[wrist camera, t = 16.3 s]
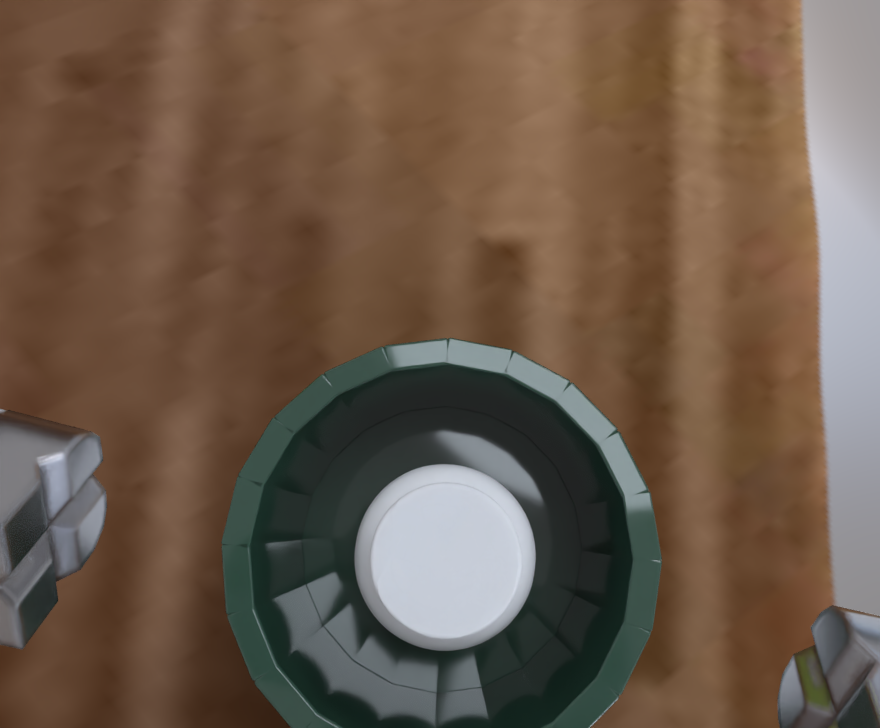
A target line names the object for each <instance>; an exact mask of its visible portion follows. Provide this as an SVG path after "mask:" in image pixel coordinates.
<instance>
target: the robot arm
mask: <svg viewBox="0 0 880 728" xmlns="http://www.w3.org/2000/svg"><path fill="white" fill-rule="evenodd" d="M102 461H103V456H102V449H101V442H100V437H99V436H97V435H96V434H94V433H93V432H91V431H87V430H84V429H80V428H76V427H72V426H68V425H64V424H61V423H57V422H53V421H49V420H45V419H41V418H38V417H34V416H30V415H26V414H22V413H18V412H15V411H11V410H7V411H6V410H3V409H0V645H5V646H9V647H14V648H18V649H23V648H24V647H25V645H26V644H27V643H28V641H29V640H30V638H31V637H32V636H33V634H34V633H35V632H36V630H37V629H38V627H39V626H40V625H41V623H42V622H43V621H44V619H45V618H46V617H47V615H48V614H49V612H50V611H51V610H52V608H53V607H54V606H55V604H56V603H57V601H58V596H57V588H56V582H57V581H59V580H61V579H63V578H65V577H67V576H69V575H71V574H73V573H75V572H77V571H79V570H81V568H82V567H83V565H84V564H85V562H86V561H87V559H88V558H89V557H90V555H91V554H92V552H93V551H94V549H95V546H96V544H97V541H98V539H99V536H100V534H101V532H102V529H103V527H104V522H105V515H106V508H107V503H106V490H105V489H104V487H103V486H102V485H101V484H100V482H99V481H98V480H97V478H96V477H95V476H94V475H93V472H94V471H95V470H96V468H97V467H98V466H99V465H100V463H101V462H102ZM811 630H812V634H813V638H814V641H815V645H813V646H811V647H809V648H807V649H804V650H802V651H800V652H798V653H795V654H794V655H793V657H792V658H791V660H790V662H789V664H788V666H787V667H786V669H785V671H784V673H783V675H782V680H781V684H780V689H779V694H778V720H779V725H780V728H880V616H877V615H873V614H868V613H864V612H860V611H855V610H851V609H847V608H842V607H838V606H833V605H832V606H830V607H829V608H827V609H825V610H824V611H822V612H821V613H820V614H819V616H818V618H817V619H816V621H815V622H814V624H813V625H812V627H811Z"/></svg>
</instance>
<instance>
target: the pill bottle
mask: <svg viewBox="0 0 880 728" xmlns="http://www.w3.org/2000/svg"><path fill="white" fill-rule="evenodd" d="M535 562H536V550H535V541H534V536H533V532H532V529H531V526H530V523H529V520H528V518H527V516H526V514H525V512H524V511H523V509H522V507H521V506H520V504H519V503H518V501H517V500H516V499H515V497H514V496H513V495H512V494H511V493H510V492H509V491H508V490H507V489H506V488H505V487H504V486H503V485H501V484H500V483H499V482H497V481H496V480H495V479H493V478H491V477H490V476H488V475H486V474H484V473H482V472H480V471H477V470H475V469H472V468H468V467H465V466H460V465H452V464H436V465H429V466H424V467H420V468H417V469H414V470H411V471H409V472H407V473H405V474H403V475H401V476H399V477H398V478H396V479H395V480H393V481H392V482H391V483H389V484H388V485H387V486H386V487H385V488H384V489H383V490H382V491H381V492H380V493H379V494H378V495H377V496H376V497H375V499H374V500H373V501H372V503H371V504H370V506H369V507H368V509H367V511H366V512H365V515H364V517H363V519H362V521H361V524H360V527H359V530H358V534H357V539H356V545H355V572H356V578H357V582H358V586H359V589H360V591H361V594H362V597H363V599H364V601H365V603H366V604H367V606H368V608H369V609H370V611H371V612H372V614H373V615H374V616H375V617H376V619H377V620H378V621H379V622H380V623H381V624H382V625H383V626H384V627H385V628H386V629H387V630H388V631H390V632H391V633H392V634H394V635H395V636H397V637H398V638H400V639H402V640H404V641H406V642H408V643H410V644H412V645H415V646H418V647H421V648H425V649H430V650H437V651H453V650H460V649H466V648H469V647H472V646H475V645H478V644H481V643H483V642H485V641H487V640H489V639H490V638H492V637H494V636H495V635H497V634H498V633H499V632H501V631H502V630H503V629H504V628H506V627H507V626H508V625H509V624H510V623H511V622H512V620H513V619H514V618H515V617H516V616H517V614H518V613H519V611H520V610H521V608H522V607H523V605H524V603H525V601H526V599H527V597H528V595H529V592H530V589H531V586H532V583H533V578H534V572H535Z"/></svg>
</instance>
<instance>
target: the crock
mask: <svg viewBox="0 0 880 728" xmlns="http://www.w3.org/2000/svg"><path fill="white" fill-rule="evenodd" d="M617 430H618V429H617V427H616V426H615V425H614V424H613V423H612V422H611V421H610V420H609V419H608V418H607V417H606V416H605V415H604V414H603V413H602V412H601V411H600V410H599V409H598V408H597V407H596V406H595V405H594V404H593V403H592V402H591V401H590V400H589V399H588V398H587V397H586V396H585V395H584V394H583V393H582V392H581V391H580V389H579V388H578V387H577V386H576V385H575V384H574V383H572V382H571V383H570V381H569V380H568V379H566V378H564V377H562V376H561V375H559V374H557V373H555V372H553V371H551V370H549V369H548V368H546V367H544V366H542V365H540V364H538V363H536V362H535V361H533V360H531V359H529V358H527V357H525V356H523V355H522V354H520V353H518V352H516V351H512V350H511V349H507V348H501V347H496V346H491V345H486V344H480V343H475V342H470V341H464V340H459V339H454V338H449V339H447V338H442V339H434V340H425V341H417V342H409V343H400V344H392V345H386V346H384V347H379V348H377V349H374V350H372V351H370V352H368V353H366V354H363V355H361V356H359V357H357V358H355V359H352V360H350V361H348V362H346V363H343V364H341V365H339V366H337V367H335V368H332V369H330V370H328V371H326V372H325V373H324V374H322V375H320V376H319V377H318V378H317V379H316V380H314V381H313V382H312V383H311V384H310V385H309V386H308V387H307V388H305V389H304V390H303V391H302V392H301V393H300V394H299V395H298V396H296V397H295V398H294V399H293V400H292V401H291V402H290V403H289V404H287V405H286V406H285V407H284V408H283V409H282V410H281V411H280V412H279V413H277V414H276V415H275V417H274V418H272V419H271V421H270V423H269V424H268V426H267V428H266V429H265V431H264V433H263V434H262V436H261V438H260V439H259V441H258V443H257V444H256V446H255V448H254V449H253V451H252V453H251V454H250V456H249V458H248V459H247V461H246V463H245V464H244V466H243V468H242V469H241V471H240V473H239V475H238V476H239V477H237V480H236V484H235V488H234V493H233V497H232V501H231V505H230V509H229V513H228V517H227V521H226V526H225V530H224V534H223V538H222V542H221V543H222V544H223V545H222V547H221V548H222V563H223V578H224V593H225V608H226V614H228V616H227V619H228V621H229V624H230V626H231V629H232V631H233V634H234V636H235V639H236V641H237V644H238V646H239V649H240V651H241V654H242V656H243V659H244V662H245V664H246V667H247V669H248V672H249V674H250V677H251V679H252V680H253V681H255V682H254V683H255V686H256V687H257V688H258V689H259V690H260V692H261V693H262V694H263V695H264V696H265V697H266V699H267V700H268V701H269V702H270V703H271V705H272V706H273V707H274V708H275V709H276V711H277V712H278V713H279V714H280V715H281V717H282V718H283V719H284V720H285V721H286V723H287V724H288V725H289V726H290V727H291V728H591V727H592V725H593V724H594V723H595V722H596V721H597V720H598V719H599V718H600V717H601V716H602V715H603V714H604V713H605V712H606V711H607V710H608V709H609V708H610V707H611V706H612V705H613V704H614V703H615V702H616V701H617V700H618V698H619V695H621V694H622V693H623V690H624V688H625V686H626V684H627V682H628V680H629V678H630V676H631V674H632V672H633V670H634V668H635V666H636V664H637V662H638V659H639V657H640V655H641V653H642V651H643V649H644V647H645V645H646V643H647V641H648V639H649V637H650V635H651V632H650V631H652V630H653V623H654V616H655V609H656V601H657V594H658V587H659V580H660V572H661V565H662V561H661V560H662V557H661V551H660V545H659V539H658V533H657V528H656V522H655V516H654V510H653V504H652V498H651V493H650V492H649V490H648V486H647V484H646V482H645V481H644V479H643V477H642V475H641V473H640V471H639V469H638V467H637V465H636V463H635V461H634V459H633V457H632V455H631V453H630V451H629V449H628V447H627V445H626V443H625V441H624V439H623V437H622V435H621V433H620V432H619V431H617ZM436 464H452V465H460V466H465V467H468V468H472V469H475V470H477V471H480V472H482V473H484V474H486V475H488V476H490V477H491V478H493V479H495V480H496V481H497V482H499V483H500V484H501V485H503V486H504V487H505V488H506V489H507V490H508V491H509V492H510V493H511V494H512V495H513V496H514V497H515V499H516V500H517V501H518V503H519V504H520V506H521V507H522V509H523V511H524V512H525V514H526V516H527V518H528V520H529V523H530V526H531V529H532V532H533V536H534V541H535V550H536V562H535V572H534V578H533V583H532V586H531V589H530V592H529V595H528V597H527V599H526V601H525V603H524V605H523V607H522V608H521V610H520V611H519V613H518V614H517V616H516V617H515V618H514V619H513V620H512V622H511V623H510V624H509V625H508V626H507V627H506V628H504V629H503V630H502V631H501V632H499V633H498V634H497V635H495V636H494V637H492V638H490V639H489V640H487V641H485V642H483V643H481V644H478V645H475V646H472V647H469V648H466V649H460V650H453V651H437V650H430V649H425V648H421V647H418V646H415V645H412V644H410V643H408V642H406V641H404V640H402V639H400V638H398V637H397V636H395V635H394V634H392V633H391V632H390V631H388V630H387V629H386V628H385V627H384V626H383V625H382V624H381V623H380V622H379V621H378V620H377V619H376V617H375V616H374V615H373V614H372V612H371V611H370V609H369V608H368V606H367V604H366V603H365V601H364V599H363V597H362V594H361V591H360V589H359V586H358V582H357V578H356V572H355V545H356V539H357V534H358V530H359V527H360V524H361V521H362V519H363V517H364V515H365V512H366V511H367V509H368V507H369V506H370V504H371V503H372V501H373V500H374V499H375V497H376V496H377V495H378V494H379V493H380V492H381V491H382V490H383V489H384V488H385V487H386V486H387V485H388V484H389V483H391V482H392V481H393V480H395V479H396V478H398V477H399V476H401V475H403V474H405V473H407V472H409V471H411V470H414V469H417V468H420V467H424V466H429V465H436Z"/></svg>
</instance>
